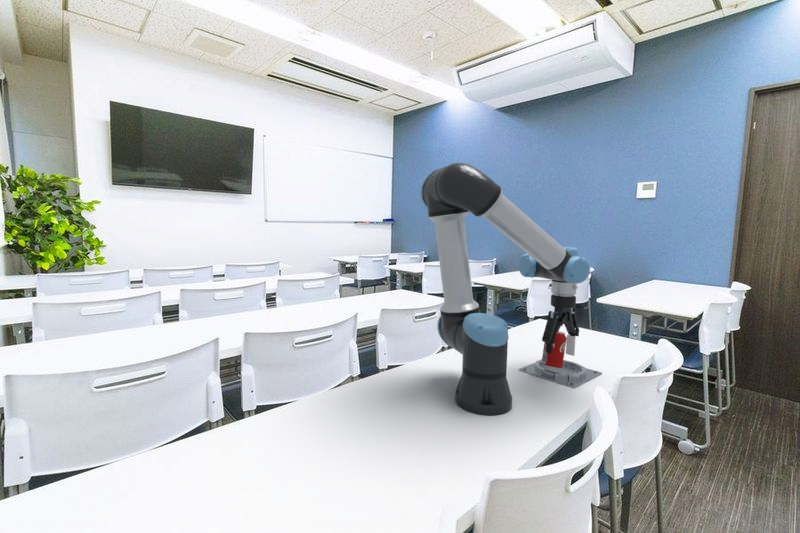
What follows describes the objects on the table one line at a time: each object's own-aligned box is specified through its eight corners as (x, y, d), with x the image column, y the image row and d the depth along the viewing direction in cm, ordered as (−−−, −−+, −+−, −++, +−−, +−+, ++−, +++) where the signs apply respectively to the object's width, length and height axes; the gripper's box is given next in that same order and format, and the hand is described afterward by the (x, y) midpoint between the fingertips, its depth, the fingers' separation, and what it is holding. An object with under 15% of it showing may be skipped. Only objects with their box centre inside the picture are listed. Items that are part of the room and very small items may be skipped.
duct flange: (574, 388, 114) (575, 381, 114) (518, 370, 129) (518, 364, 129) (601, 374, 127) (602, 368, 127) (547, 359, 141) (547, 353, 141)
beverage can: (564, 372, 120) (570, 334, 121) (543, 368, 121) (549, 330, 122) (558, 368, 127) (563, 332, 127) (538, 364, 127) (544, 328, 128)
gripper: (555, 300, 115) (551, 369, 117) (592, 292, 131) (588, 354, 133) (532, 296, 120) (529, 363, 122) (570, 290, 136) (567, 348, 138)
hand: (560, 358), depth 127 cm, fingers open, 13 cm apart
